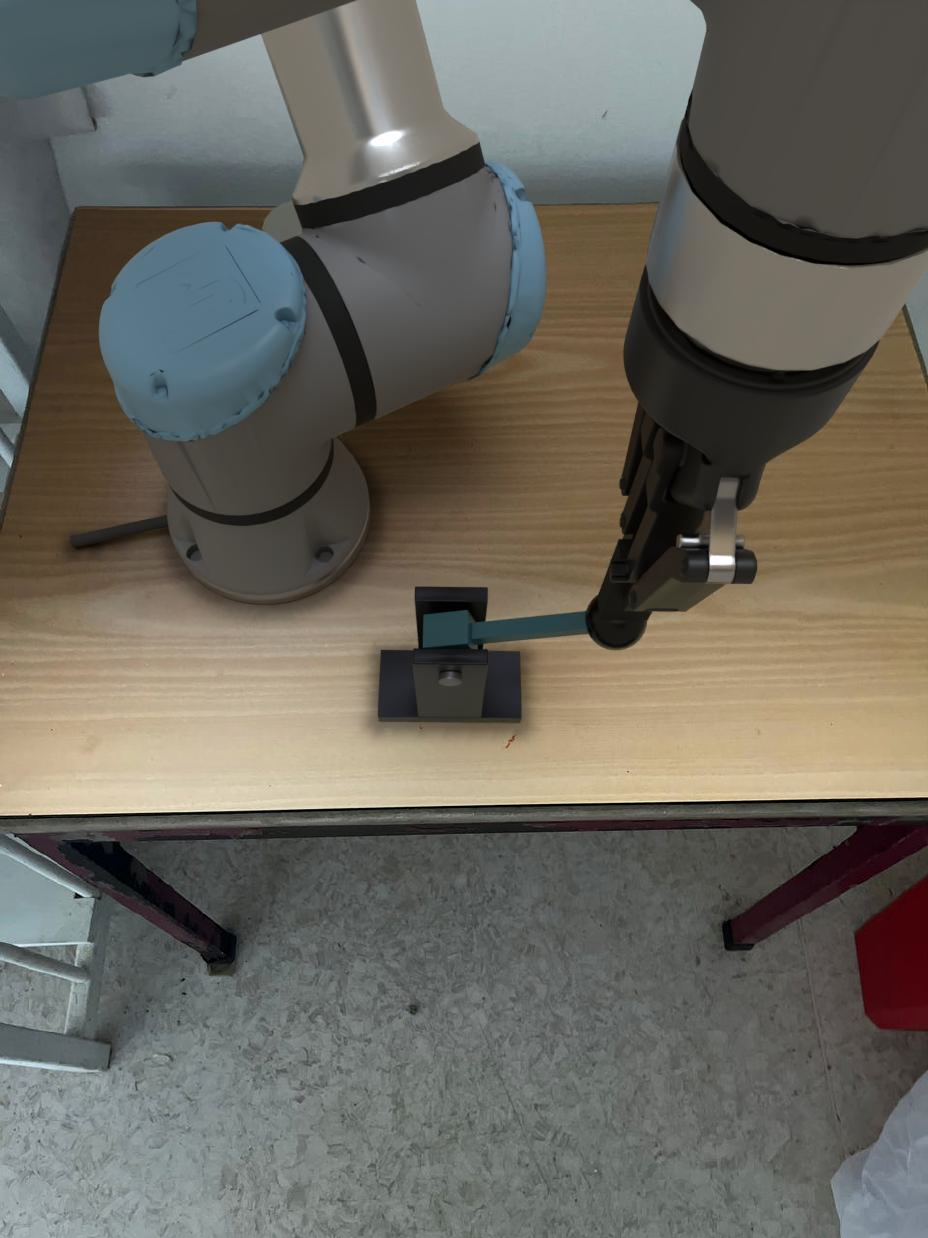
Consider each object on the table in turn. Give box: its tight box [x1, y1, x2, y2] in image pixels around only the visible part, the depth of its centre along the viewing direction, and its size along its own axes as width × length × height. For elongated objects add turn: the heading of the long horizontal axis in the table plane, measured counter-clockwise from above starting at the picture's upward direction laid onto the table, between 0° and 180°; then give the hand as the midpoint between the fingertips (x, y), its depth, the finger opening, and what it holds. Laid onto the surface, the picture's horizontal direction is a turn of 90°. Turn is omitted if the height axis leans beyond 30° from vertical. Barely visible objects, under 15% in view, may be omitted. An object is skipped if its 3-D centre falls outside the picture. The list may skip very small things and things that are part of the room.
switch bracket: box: [377, 585, 522, 724], centre depth 56 cm, size 10×6×12 cm, turn 90°
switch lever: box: [423, 594, 648, 652], centre depth 50 cm, size 13×4×4 cm, turn 90°
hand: (622, 607), depth 47 cm, fingers closed
